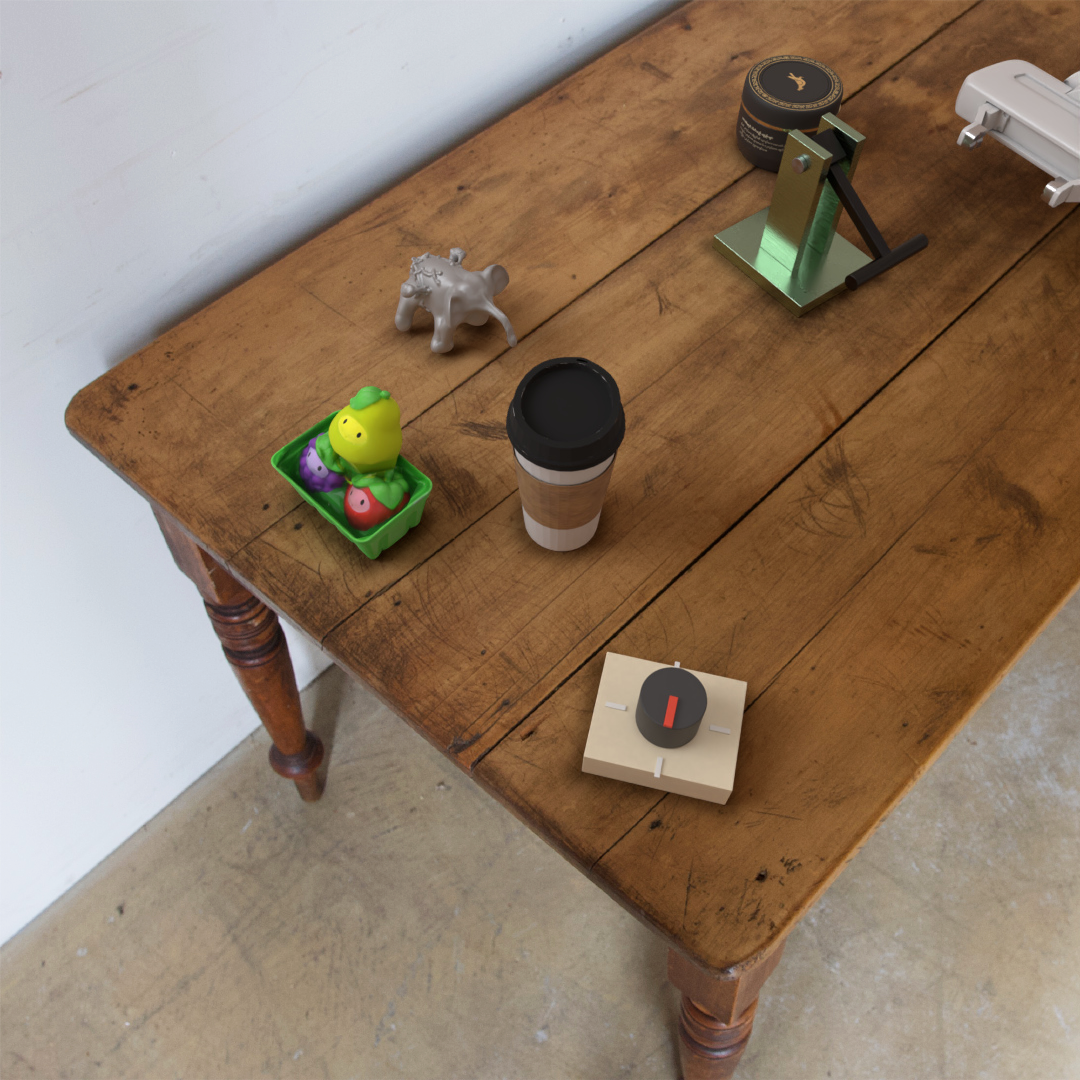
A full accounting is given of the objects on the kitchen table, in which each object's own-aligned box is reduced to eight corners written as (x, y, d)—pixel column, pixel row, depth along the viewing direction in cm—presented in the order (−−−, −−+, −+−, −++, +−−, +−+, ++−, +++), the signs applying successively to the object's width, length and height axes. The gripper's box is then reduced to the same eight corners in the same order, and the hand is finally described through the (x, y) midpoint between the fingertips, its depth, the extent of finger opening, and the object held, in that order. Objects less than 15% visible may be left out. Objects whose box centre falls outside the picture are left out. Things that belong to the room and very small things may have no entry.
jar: (777, 107, 110) (793, 41, 103) (846, 152, 105) (866, 86, 99) (712, 142, 106) (724, 76, 100) (780, 191, 102) (797, 124, 96)
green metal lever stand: (872, 273, 96) (920, 149, 84) (797, 318, 92) (836, 195, 81) (785, 206, 101) (818, 80, 89) (711, 246, 97) (736, 121, 86)
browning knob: (642, 681, 69) (648, 657, 66) (704, 696, 69) (713, 673, 65) (629, 739, 67) (634, 717, 64) (693, 756, 66) (701, 734, 63)
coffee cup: (625, 493, 81) (642, 368, 69) (596, 577, 77) (609, 461, 64) (527, 467, 83) (527, 340, 70) (494, 549, 78) (487, 430, 66)
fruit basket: (278, 496, 81) (245, 407, 71) (361, 435, 84) (340, 342, 75) (370, 581, 77) (348, 497, 67) (453, 513, 80) (443, 424, 71)
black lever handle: (917, 253, 89) (935, 242, 87) (847, 295, 86) (863, 284, 84) (842, 128, 89) (858, 113, 87) (769, 165, 86) (783, 151, 84)
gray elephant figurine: (428, 283, 94) (420, 217, 88) (545, 317, 92) (547, 253, 86) (385, 350, 90) (373, 286, 83) (507, 388, 87) (506, 325, 81)
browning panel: (740, 695, 72) (748, 677, 69) (724, 809, 68) (732, 794, 65) (605, 665, 73) (608, 646, 71) (580, 775, 69) (582, 759, 66)
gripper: (1027, 27, 95) (929, 78, 90) (1217, 137, 86) (1118, 200, 81) (1001, 88, 100) (906, 139, 95) (1177, 197, 91) (1082, 259, 87)
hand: (1006, 168), depth 88 cm, fingers open, 8 cm apart
